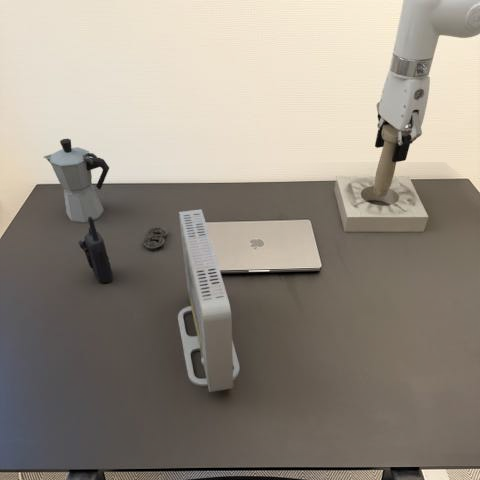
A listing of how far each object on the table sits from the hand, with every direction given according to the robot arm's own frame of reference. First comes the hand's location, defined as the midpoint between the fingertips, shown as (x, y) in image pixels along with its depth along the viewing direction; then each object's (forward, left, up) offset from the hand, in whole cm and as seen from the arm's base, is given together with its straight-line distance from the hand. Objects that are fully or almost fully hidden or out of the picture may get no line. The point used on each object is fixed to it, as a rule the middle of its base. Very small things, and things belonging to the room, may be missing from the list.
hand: (389, 152), depth 103 cm
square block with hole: (0, 0, -15) cm, 15 cm away
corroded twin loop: (+53, -5, -15) cm, 55 cm away
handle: (0, 0, -10) cm, 10 cm away
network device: (+50, +28, -15) cm, 59 cm away
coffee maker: (+66, -21, -15) cm, 71 cm away
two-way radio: (+66, +4, -15) cm, 68 cm away
